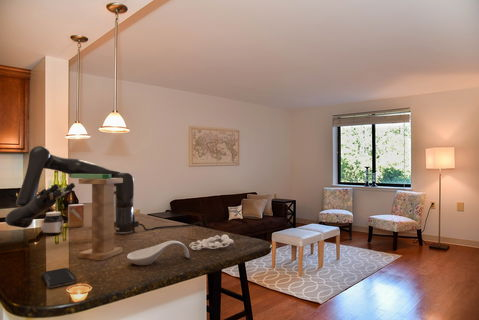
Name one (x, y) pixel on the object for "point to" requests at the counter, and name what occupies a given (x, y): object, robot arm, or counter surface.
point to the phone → (59, 277)
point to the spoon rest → (153, 253)
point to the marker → (91, 176)
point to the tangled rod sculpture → (209, 241)
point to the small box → (76, 215)
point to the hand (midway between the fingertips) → (66, 185)
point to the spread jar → (52, 224)
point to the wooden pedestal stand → (102, 219)
